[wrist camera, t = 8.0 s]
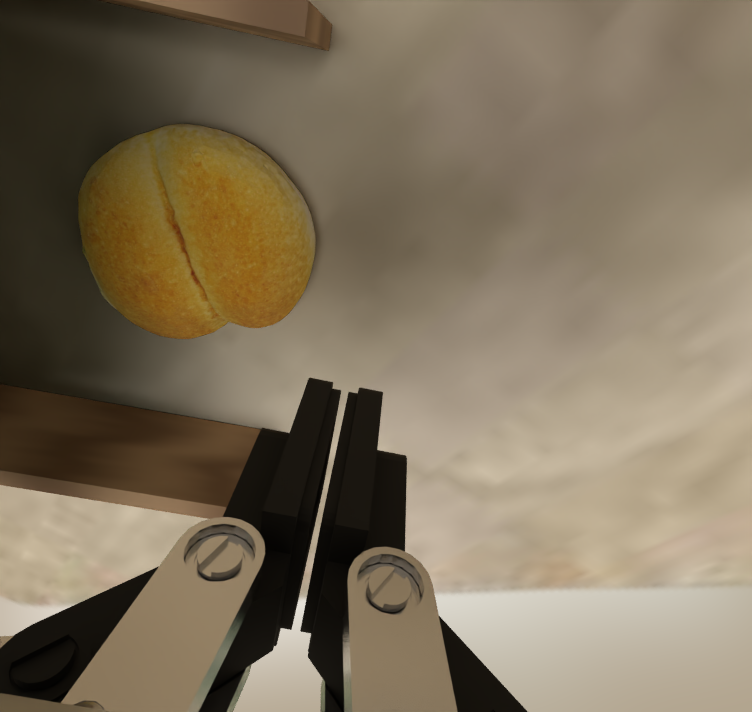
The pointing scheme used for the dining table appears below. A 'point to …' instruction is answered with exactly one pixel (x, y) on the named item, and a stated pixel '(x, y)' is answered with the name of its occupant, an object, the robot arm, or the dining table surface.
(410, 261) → the dining table surface
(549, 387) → the dining table surface
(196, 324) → the bread roll
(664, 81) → the dining table surface
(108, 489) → the brown wooden box
